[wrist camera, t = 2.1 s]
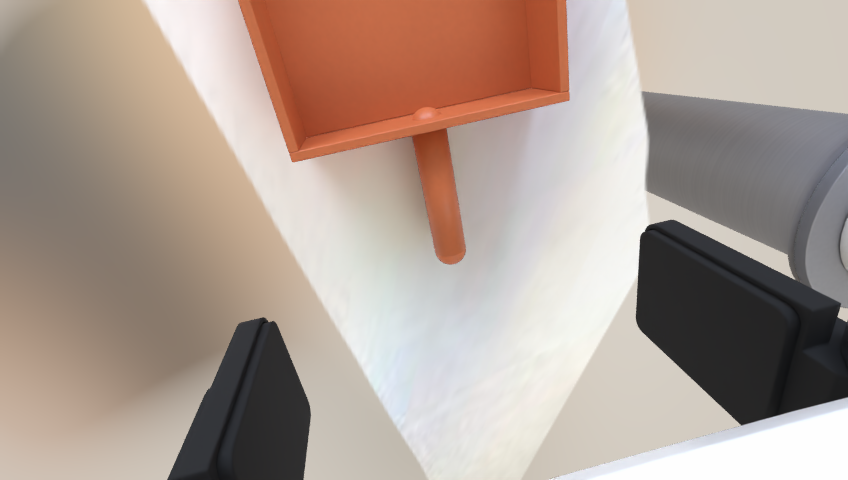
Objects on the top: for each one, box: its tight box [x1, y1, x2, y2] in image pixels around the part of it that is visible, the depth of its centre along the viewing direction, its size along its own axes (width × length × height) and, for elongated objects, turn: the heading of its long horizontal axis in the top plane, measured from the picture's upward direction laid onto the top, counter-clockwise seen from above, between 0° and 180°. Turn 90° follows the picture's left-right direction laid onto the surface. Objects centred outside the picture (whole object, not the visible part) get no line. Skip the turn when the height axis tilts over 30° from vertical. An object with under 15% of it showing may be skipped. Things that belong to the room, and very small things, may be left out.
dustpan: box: [238, 0, 569, 264], centre depth 23 cm, size 22×15×4 cm
